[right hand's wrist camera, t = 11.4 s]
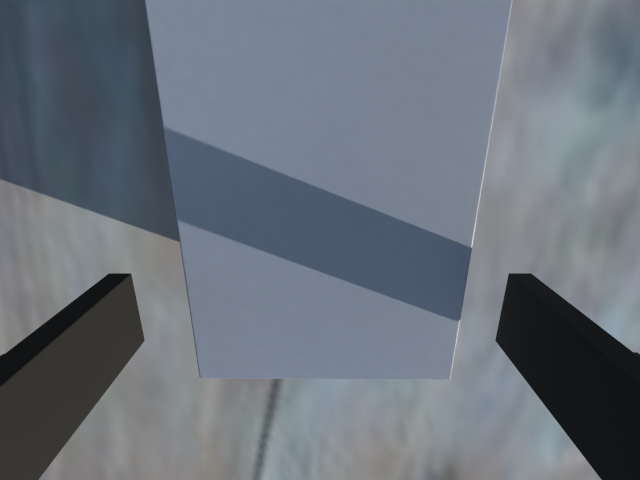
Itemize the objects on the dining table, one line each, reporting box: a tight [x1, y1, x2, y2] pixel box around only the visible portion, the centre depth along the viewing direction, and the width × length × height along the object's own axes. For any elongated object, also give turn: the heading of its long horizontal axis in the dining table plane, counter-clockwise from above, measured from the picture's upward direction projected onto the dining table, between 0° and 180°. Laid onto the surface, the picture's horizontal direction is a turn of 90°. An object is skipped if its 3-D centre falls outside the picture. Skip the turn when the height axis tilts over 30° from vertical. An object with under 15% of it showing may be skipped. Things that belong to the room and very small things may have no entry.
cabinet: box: [144, 0, 513, 380], centre depth 16 cm, size 20×10×10 cm, turn 0°
